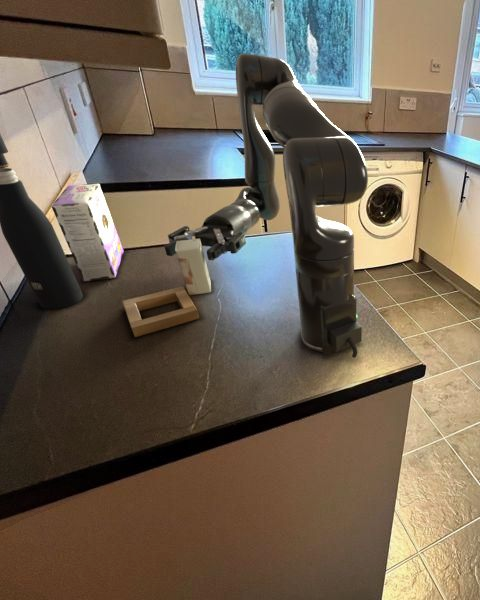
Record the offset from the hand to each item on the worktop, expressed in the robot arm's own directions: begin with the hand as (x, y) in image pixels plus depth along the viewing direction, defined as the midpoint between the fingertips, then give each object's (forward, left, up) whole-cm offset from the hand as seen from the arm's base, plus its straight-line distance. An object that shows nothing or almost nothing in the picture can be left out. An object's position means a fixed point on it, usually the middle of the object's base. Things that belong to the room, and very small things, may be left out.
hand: (188, 253), depth 74 cm
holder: (-6, +8, -8) cm, 13 cm away
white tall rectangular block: (0, -1, -8) cm, 9 cm away
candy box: (+21, +14, -8) cm, 27 cm away
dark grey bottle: (+9, +22, -8) cm, 25 cm away
